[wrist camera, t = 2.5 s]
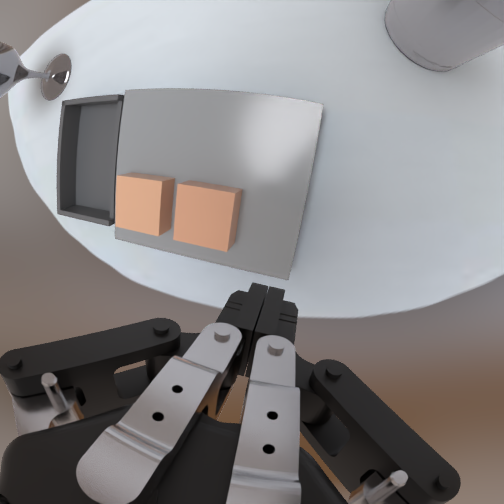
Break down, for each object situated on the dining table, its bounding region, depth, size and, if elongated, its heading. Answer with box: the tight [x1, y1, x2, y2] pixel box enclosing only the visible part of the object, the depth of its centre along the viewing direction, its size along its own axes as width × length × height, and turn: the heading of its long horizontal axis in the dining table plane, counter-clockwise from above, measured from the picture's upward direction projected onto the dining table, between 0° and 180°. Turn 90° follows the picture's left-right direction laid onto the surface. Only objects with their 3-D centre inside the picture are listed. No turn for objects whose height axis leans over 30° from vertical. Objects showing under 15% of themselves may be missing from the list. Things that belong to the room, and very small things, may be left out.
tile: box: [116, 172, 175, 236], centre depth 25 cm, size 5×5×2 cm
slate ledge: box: [115, 88, 323, 280], centre depth 26 cm, size 16×19×3 cm
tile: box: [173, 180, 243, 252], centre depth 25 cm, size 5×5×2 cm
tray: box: [57, 95, 124, 226], centre depth 28 cm, size 14×9×4 cm, turn 171°
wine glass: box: [0, 42, 71, 100], centre depth 20 cm, size 8×8×15 cm
